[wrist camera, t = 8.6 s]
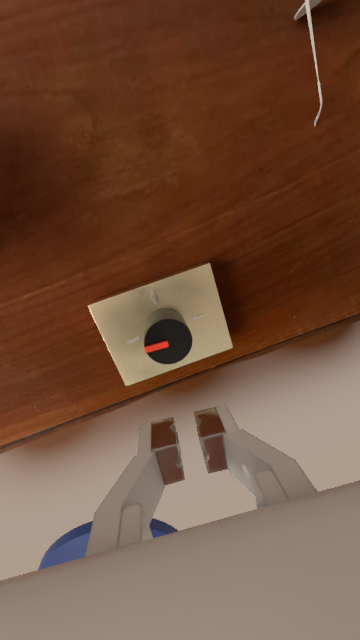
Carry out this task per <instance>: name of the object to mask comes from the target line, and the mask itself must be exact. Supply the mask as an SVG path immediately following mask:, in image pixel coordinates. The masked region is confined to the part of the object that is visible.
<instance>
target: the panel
mask: <svg viewBox="0 0 360 640" xmlns="http://www.w3.org/2000/svg"><path fill="white" fill-rule="evenodd" d="M88 308H89V310H90V312H91V314H92V316H93V318H94V320H95V322H96V325H97V327H98V329H99V331H100V333H101V335H102V337H103V339H104V341H105V343H106V346H107V348H108V350H109V352H110V354H111V356H112V358H113V360H114V362H115V364H116V366H117V369H118V371H119V373H120V375H121V377H122V379H123V381H124V383H125V385H126V386H129V385H131V384H134V383H137V382H140V381H143V380H145V379H148V378H151V377H154V376H156V375H159V374H162V373H165V372H168V371H170V370H173V369H176V368H179V367H181V366H184V365H187V364H190V363H192V362H195V361H198V360H201V359H204V358H206V357H209V356H212V355H215V354H217V353H220V352H223V351H226V350H228V349H231V348H233V345H232V342H231V338H230V334H229V331H228V327H227V323H226V320H225V316H224V313H223V309H222V305H221V302H220V298H219V294H218V291H217V287H216V283H215V280H214V276H213V272H212V269H211V265H210V263H206V262H202V263H199V264H196V265H193V266H190V267H187V268H184V269H181V270H179V271H176V272H173V273H170V274H167V275H164V276H161V277H158V278H156V279H153V280H150V281H147V282H144V283H141V284H138V285H135V286H133V287H130V288H127V289H124V290H121V291H118V292H115V293H112V294H110V295H107V296H104V297H101V298H98V299H95V300H94V301H92V302H91V303H90V304H89V305H88ZM160 309H172V310H175V311H177V312H178V313H179V314H181V316H182V317H183V318H184V320H185V322H186V324H187V326H188V328H189V330H190V332H191V334H192V339H193V342H192V347H191V350H190V352H189V353H188V355H187V356H186V357H185V358H184V359H183V360H181V361H179V362H177V363H174V364H160V363H158V362H155V361H154V360H152V359H151V358H150V357H149V356H148V355H147V353H146V352H145V349H144V331H145V323H146V321H147V319H148V317H149V316H150V315H151V314H152V313H153V312H155V311H157V310H160Z"/></svg>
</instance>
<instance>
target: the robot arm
mask: <svg viewBox="0 0 360 640" xmlns="http://www.w3.org/2000/svg"><path fill="white" fill-rule="evenodd" d="M194 416H195V421H196V424H197V431H198V436H199V440H200V444H201V448H202V450H203V455H204V460H205V463H206V467H207V470H208V473H212V472H217V471H221V470H225V469H228V470H229V471H230V472H231V473H232V474H233V475H234V476H235V477H236V478H237V479H239V481H240V482H242V483H243V484H244V485H245V486H246V487H247V488H248V489H249V490H250V491H251V492H252V493H253V494H254V495H255V496H256V502H257V509H256V510H253V511H249V512H245V513H242V514H238V515H235V516H231V517H227V518H224V519H220V520H217V521H213V522H210V523H206V524H203V525H199V526H195V527H192V528H188V529H185V530H181V531H177V532H174V533H170V534H167V535H163V536H159V537H156V538H153V536H152V533H151V530H150V527H149V525H150V522H151V520H152V517H153V515H154V512H155V510H156V507H157V505H158V503H159V500H160V497H161V495H162V493H163V490H164V488H165V487H164V486H165V485H168V484H172V483H175V482H178V481H181V480H185V479H184V471H183V465H182V460H181V452H180V446H179V440H178V436H177V432H176V428H175V422H174V418H173V417H171V418H167V419H163V420H158V421H153V422H149V423H145V424H141V425H140V428H139V443H138V456H134V457H133V459H132V460H131V462H130V463H129V465H128V466H127V467H126V469H125V471H124V472H123V474H122V475H121V476H120V478H119V479H118V481H117V482H116V483H115V485H114V486H113V488H112V489H111V490H110V492H109V493H108V495H107V496H106V497H105V499H104V500H103V502H102V503H101V505H100V506H99V507H98V509H97V510H96V512H95V514H94V519H93V523H92V527H91V532H90V536H89V541H88V545H87V550H86V554H85V557H84V558H80V559H77V560H73V561H69V562H66V563H62V564H59V565H55V566H51V567H48V568H44V569H41V570H37V571H34V572H30V573H27V574H23V575H19V576H16V577H12V578H8V579H5V580H1V581H0V640H360V481H357V482H353V483H349V484H346V485H342V486H339V487H335V488H332V489H328V490H324V491H321V492H317V490H316V489H315V488H314V486H313V485H312V483H311V482H310V480H309V479H308V478H307V476H306V475H305V473H304V472H303V470H302V469H301V468H300V466H299V465H298V463H297V462H296V460H294V459H292V458H291V457H289V456H287V455H286V454H284V453H282V452H280V451H279V450H277V449H275V448H274V447H272V446H270V445H269V444H267V443H265V442H263V441H262V440H260V439H258V438H257V437H255V436H253V435H251V434H250V433H248V432H246V431H244V430H243V429H242V430H239V428H238V427H237V425H236V423H235V421H234V419H233V417H232V415H231V413H230V411H229V409H228V407H227V405H226V404H223V405H219V406H216V407H213V408H209V409H205V410H201V411H197V412H194Z"/></svg>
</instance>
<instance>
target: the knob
mask: <svg viewBox="0 0 360 640" xmlns="http://www.w3.org/2000/svg"><path fill="white" fill-rule="evenodd" d="M192 342H193V339H192V334H191V332H190V330H189V328H188V326H187V324H186V322H185V320H184V318H183V317H182V316H181V314H179V313H178V312H177V311H175V310H172V309H160V310H157V311H155V312H153V313H152V314H151V315H150V316H149V317H148V319H147V321H146V323H145V331H144V349H145V352H146V353H147V355H148V356H149V357H150V358H151V359H152V360H154V361H155V362H158V363H160V364H174V363H177V362H179V361H181V360H183V359H184V358H185V357H186V356H187V355H188V353H189V352H190V350H191V347H192Z"/></svg>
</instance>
